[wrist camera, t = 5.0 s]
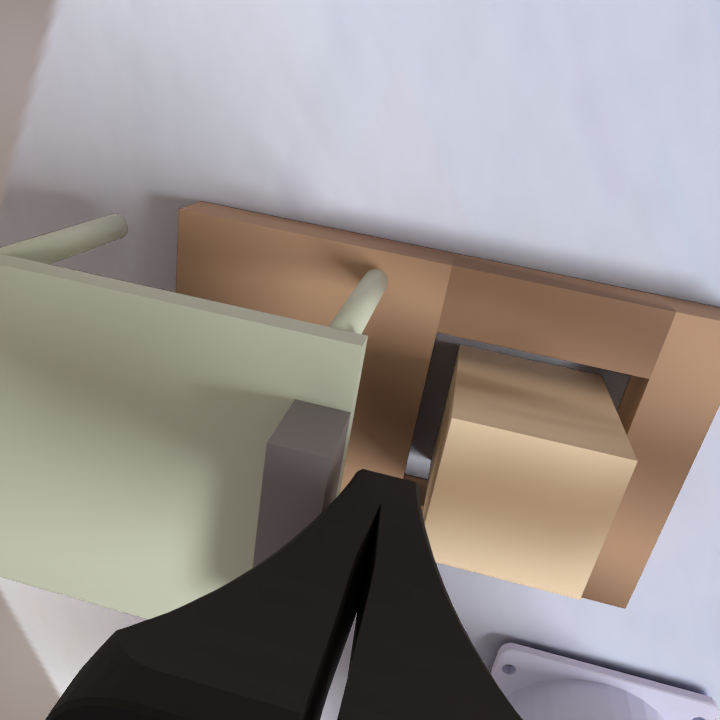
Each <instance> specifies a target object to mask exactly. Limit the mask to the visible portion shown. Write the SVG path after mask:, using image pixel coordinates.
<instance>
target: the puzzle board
mask: <svg viewBox="0 0 720 720" xmlns="http://www.w3.org/2000/svg"><path fill="white" fill-rule="evenodd" d="M372 269H379V270H381V271H383V272H384V273H385V274H386V276H387V278H388V286H387V288H386V290H385V291H384V293H383V295H382V297H381V299H380V301H379V303H378V304H377V306H376V308H375V310H374V312H373V314H372V315H371V317H370V319H369V321H368V323H367V325H366V326H365V328H364V330H363V332H362V334H363V335H367V336H368V339H367V344H366V350H365V355H364V361H363V366H362V372H361V378H360V383H359V389H358V394H357V400H356V405H355V411H354V417H353V422H352V428H351V433H350V439H349V444H348V450H347V456H346V461H345V467H344V472H343V478H342V483H341V489H340V493H341V492H342V491H343V489H344V488H345V487H346V486H347V485H348V483H349V482H350V481H351V479H352V478H353V477H354V475H355V473H356V472H357V471H359V470H361V469H366V470H370V471H374V472H378V473H382V474H386V475H390V476H394V477H398V478H402V479H406V480H410V481H414V482H416V483H417V485H418V486H419V488H420V502H421V509H422V514H423V510H424V504H425V497H426V491H427V484H428V480H424V479H420V478H416V477H412V476H408V475H404V473H405V468H406V464H407V460H408V455H409V451H410V447H411V442H412V438H413V433H414V429H415V425H416V420H417V416H418V412H419V407H420V403H421V399H422V394H423V390H424V386H425V381H426V377H427V373H428V368H429V364H430V360H431V355H432V351H433V346H434V342H435V338H436V333H437V332H438V333H442V334H447V335H451V336H456V337H461V338H465V339H470V340H474V341H479V342H483V343H488V344H492V345H497V346H501V347H506V348H511V349H515V350H520V351H524V352H529V353H533V354H538V355H542V356H547V357H551V358H556V359H561V360H565V361H570V362H574V363H579V364H583V365H588V366H592V367H597V368H601V369H606V370H611V371H615V372H620V373H624V374H629V375H631V377H630V379H629V382H628V384H627V387H626V390H625V392H624V395H623V397H622V400H621V403H620V405H619V408H618V410H617V413H618V416H619V418H620V420H621V423H622V425H623V428H624V430H625V432H626V435H627V437H628V439H629V442H630V444H631V446H632V449H633V451H634V454H635V456H636V458H637V461H638V462H637V464H636V466H635V469H634V471H633V474H632V476H631V478H630V481H629V483H628V486H627V488H626V490H625V493H624V495H623V498H622V500H621V502H620V505H619V507H618V510H617V512H616V515H615V517H614V519H613V522H612V524H611V527H610V529H609V531H608V534H607V536H606V539H605V541H604V543H603V546H602V548H601V551H600V553H599V555H598V558H597V560H596V563H595V565H594V567H593V570H592V572H591V575H590V577H589V579H588V582H587V584H586V587H585V589H584V591H583V594H582V596H581V597H582V598H586V599H590V600H594V601H598V602H601V603H605V604H609V605H613V606H617V607H621V608H624V609H625V608H626V606H627V604H628V602H629V600H630V598H631V595H632V593H633V591H634V589H635V587H636V585H637V583H638V580H639V578H640V576H641V574H642V572H643V570H644V567H645V565H646V563H647V561H648V559H649V557H650V554H651V552H652V550H653V548H654V546H655V544H656V542H657V539H658V537H659V535H660V533H661V531H662V529H663V526H664V524H665V522H666V520H667V518H668V516H669V514H670V511H671V509H672V507H673V505H674V503H675V501H676V498H677V496H678V494H679V492H680V490H681V488H682V485H683V483H684V481H685V479H686V477H687V475H688V473H689V470H690V468H691V466H692V464H693V462H694V460H695V457H696V455H697V453H698V451H699V449H700V447H701V445H702V442H703V440H704V438H705V436H706V434H707V432H708V429H709V427H710V425H711V423H712V421H713V419H714V416H715V414H716V412H717V410H718V408H719V406H720V308H719V307H714V306H710V305H705V304H700V303H695V302H690V301H685V300H680V299H675V298H671V297H666V296H661V295H656V294H651V293H646V292H641V291H636V290H632V289H627V288H622V287H617V286H612V285H607V284H602V283H597V282H593V281H588V280H583V279H578V278H573V277H568V276H563V275H558V274H554V273H549V272H544V271H539V270H534V269H529V268H524V267H519V266H515V265H510V264H505V263H500V262H495V261H490V260H485V259H480V258H476V257H471V256H466V255H461V254H456V253H451V252H446V251H441V250H436V249H432V248H427V247H422V246H417V245H412V244H407V243H402V242H397V241H393V240H388V239H383V238H378V237H373V236H368V235H363V234H358V233H354V232H349V231H344V230H339V229H334V228H329V227H324V226H319V225H315V224H310V223H305V222H300V221H295V220H290V219H285V218H280V217H276V216H271V215H266V214H261V213H256V212H251V211H246V210H241V209H237V208H232V207H227V206H222V205H217V204H212V203H207V202H202V201H200V202H197V203H194V204H191V205H188V206H185V207H183V208H180V209H179V216H178V244H177V272H176V293H179V294H184V295H188V296H193V297H197V298H202V299H206V300H211V301H215V302H219V303H224V304H228V305H233V306H237V307H242V308H246V309H251V310H255V311H260V312H264V313H269V314H273V315H278V316H282V317H287V318H291V319H296V320H300V321H305V322H309V323H313V324H318V325H322V326H327V327H328V326H329V325H330V323H331V322H332V321H333V319H334V318H335V316H336V315H337V313H338V312H339V311H340V309H341V308H342V306H343V305H344V304H345V302H346V301H347V299H348V298H349V297H350V295H351V294H352V292H353V291H354V289H355V288H356V287H357V285H358V284H359V282H360V281H361V280H362V278H363V277H364V275H365V274H366V273H367V272H368V271H369V270H372Z"/></svg>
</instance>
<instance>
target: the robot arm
mask: <svg viewBox="0 0 720 720" xmlns="http://www.w3.org/2000/svg"><path fill="white" fill-rule="evenodd" d="M356 613H357V617H356V624H355V631H354V638H353V645H352V651H351V658H350V665H349V672H348V679H347V683H346V687H345V691H344V695H343V699H342V703H341V707H340V711H339V715H338V719H337V720H716V718H717V717H718V714H719V711H718V708H717V705H716V703H715V701H714V700H713V699H712V698H711V697H709V696H706V695H703V694H699V693H695V692H692V691H688V690H684V689H681V688H677V687H673V686H670V685H666V684H662V683H659V682H655V681H651V680H648V679H644V678H640V677H637V676H633V675H629V674H626V673H622V672H618V671H615V670H611V669H607V668H603V667H600V666H596V665H592V664H589V663H585V662H581V661H578V660H574V659H570V658H567V657H563V656H559V655H556V654H552V653H548V652H545V651H541V650H537V649H534V648H530V647H526V646H523V645H519V644H515V643H506V644H504V645H502V646H501V647H500V648H499V650H498V653H497V656H496V659H495V662H494V664H493V667H492V670H491V673H490V672H489V670H488V669H487V667H486V666H485V664H484V662H483V661H482V659H481V658H480V656H479V654H478V653H477V651H476V650H475V648H474V646H473V644H472V642H471V641H470V639H469V637H468V635H467V633H466V631H465V629H464V628H463V626H462V624H461V622H460V620H459V617H458V615H457V613H456V611H455V609H454V607H453V605H452V603H451V600H450V598H449V596H448V593H447V591H446V589H445V586H444V584H443V581H442V578H441V576H440V573H439V570H438V568H437V565H436V562H435V559H434V556H433V552H432V549H431V546H430V542H429V539H428V536H427V532H426V528H425V524H424V519H423V514H422V509H421V502H420V488H419V486H418V485H417V483H416V482H414V481H410V480H406V479H402V478H398V477H394V476H390V475H386V474H382V473H378V472H374V471H370V470H366V469H361V470H359V471H357V472H356V473H355V475H354V477H353V478H352V479H351V481H350V482H349V483H348V485H347V486H346V487H345V488H344V489H343V491H342V492H341V493H340V494H339V495H338V496H337V497H336V498H335V500H334V501H333V502H332V503H331V504H330V505H329V506H328V507H327V508H326V509H325V510H324V511H323V512H322V513H321V514H320V515H319V516H318V517H317V518H316V519H315V520H314V521H313V522H311V523H310V524H309V525H308V526H307V527H306V528H305V529H303V530H302V531H301V532H300V533H299V534H298V535H296V536H295V537H294V538H293V539H292V540H291V541H289V542H288V543H287V544H286V545H284V546H283V547H282V548H280V549H279V550H278V551H276V552H275V553H274V554H272V555H271V556H270V557H268V558H267V559H265V560H264V561H262V562H261V563H260V564H258V565H257V566H255V567H254V568H252V569H250V570H249V571H247V572H245V573H244V574H242V575H241V576H239V577H237V578H236V579H234V580H232V581H231V582H229V583H227V584H225V585H224V586H222V587H220V588H218V589H216V590H214V591H212V592H210V593H208V594H206V595H204V596H202V597H200V598H198V599H196V600H194V601H192V602H190V603H188V604H186V605H183V606H181V607H179V608H177V609H175V610H172V611H170V612H168V613H165V614H162V615H160V616H157V617H154V618H151V619H149V620H146V621H143V622H140V623H138V624H135V625H132V626H129V627H126V628H123V629H120V630H117V631H115V633H114V634H113V635H112V636H111V637H110V638H109V639H108V640H107V641H106V642H105V643H104V644H103V645H102V646H101V647H100V648H99V649H98V651H97V652H96V653H95V654H94V655H93V656H92V657H91V658H90V660H89V661H88V662H87V663H86V664H85V665H84V666H83V667H82V669H81V670H80V671H79V672H78V674H77V675H76V676H75V678H74V679H73V680H72V682H71V683H70V685H69V686H68V687H67V689H66V690H65V692H64V693H63V695H62V696H61V697H60V699H59V700H58V702H57V703H56V705H55V706H54V707H53V709H52V710H51V712H50V714H49V715H48V717H47V718H46V720H320V718H321V714H322V710H323V707H324V704H325V701H326V698H327V694H328V691H329V688H330V685H331V683H332V680H333V677H334V674H335V671H336V669H337V666H338V663H339V660H340V658H341V655H342V652H343V649H344V646H345V644H346V641H347V638H348V635H349V633H350V630H351V627H352V624H353V621H354V619H355V616H356ZM506 664H509V665H512V666H506Z"/></svg>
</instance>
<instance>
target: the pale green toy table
mask: <svg viewBox="0 0 720 720" xmlns="http://www.w3.org/2000/svg"><path fill="white" fill-rule="evenodd" d="M127 230H128V226H127V223H126V221H125V219H124V218H123V217H122V216H120V215H118V214H111V215H108V216H104V217H101V218H98V219H94V220H91V221H87V222H84V223H81V224H77V225H74V226H71V227H67V228H64V229H61V230H57V231H54V232H50V233H47V234H44V235H40V236H37V237H34V238H30V239H27V240H24V241H20V242H17V243H13V244H10V245H7V246H3V247H0V577H2V578H6V579H9V580H13V581H16V582H20V583H23V584H27V585H30V586H34V587H37V588H41V589H44V590H48V591H51V592H55V593H58V594H62V595H65V596H69V597H72V598H75V599H79V600H82V601H86V602H89V603H93V604H96V605H100V606H103V607H107V608H110V609H114V610H117V611H121V612H124V613H128V614H131V615H135V616H138V617H142V618H145V619H151V618H154V617H157V616H160V615H162V614H165V613H168V612H170V611H172V610H175V609H177V608H179V607H181V606H183V605H186V604H188V603H190V602H192V601H194V600H196V599H198V598H200V597H202V596H204V595H206V594H208V593H210V592H212V591H214V590H216V589H218V588H220V587H222V586H224V585H225V584H227V583H229V582H231V581H232V580H234V579H236V578H237V577H239V576H241V575H242V574H244V573H245V572H247V571H249V570H250V569H252V568H254V567H255V566H257V565H258V564H260V563H261V562H262V561H264V560H265V559H267V558H268V557H270V556H271V555H272V554H274V553H275V552H276V551H278V550H279V549H280V548H282V547H283V546H284V545H286V544H287V543H288V542H289V541H291V540H292V539H293V538H294V537H295V536H296V535H298V534H299V533H300V532H301V531H302V530H303V529H305V528H306V527H307V526H308V525H309V524H310V523H311V522H313V521H314V520H315V519H316V518H317V517H318V516H319V515H320V514H321V513H322V512H323V511H324V510H325V509H326V508H327V507H328V506H329V505H330V504H331V503H332V502H333V501H334V500H335V498H336V497H337V496H338V495H339V494H340V489H341V483H342V478H343V472H344V467H345V461H346V456H347V450H348V444H349V439H350V433H351V428H352V422H353V417H354V411H355V405H356V400H357V394H358V389H359V383H360V378H361V372H362V366H363V361H364V355H365V350H366V344H367V339H368V336H367V335H363V334H362V332H363V330H364V328H365V326H366V325H367V323H368V321H369V319H370V317H371V315H372V314H373V312H374V310H375V308H376V306H377V304H378V303H379V301H380V299H381V297H382V295H383V293H384V291H385V290H386V288H387V286H388V278H387V276H386V274H385V273H384V272H383V271H381V270H379V269H372V270H369V271H368V272H367V273H366V274H365V275H364V277H363V278H362V280H361V281H360V282H359V284H358V285H357V287H356V288H355V289H354V291H353V292H352V294H351V295H350V297H349V298H348V299H347V301H346V302H345V304H344V305H343V306H342V308H341V309H340V311H339V312H338V313H337V315H336V316H335V318H334V319H333V321H332V322H331V323H330V325H329V326H328V327H327V326H322V325H318V324H313V323H309V322H305V321H300V320H296V319H291V318H287V317H282V316H278V315H273V314H269V313H264V312H260V311H255V310H251V309H246V308H242V307H237V306H233V305H228V304H224V303H219V302H215V301H211V300H206V299H202V298H197V297H193V296H188V295H184V294H179V293H175V292H170V291H166V290H161V289H157V288H152V287H148V286H143V285H139V284H134V283H130V282H125V281H121V280H117V279H112V278H108V277H103V276H99V275H94V274H90V273H85V272H81V271H76V270H72V269H67V268H63V267H58V266H54V265H49V264H51V263H54V262H57V261H60V260H62V259H65V258H68V257H70V256H73V255H76V254H78V253H81V252H84V251H87V250H89V249H92V248H95V247H97V246H100V245H103V244H106V243H108V242H111V241H114V240H116V239H119V238H122V237H124V236H125V235H126V233H127Z"/></svg>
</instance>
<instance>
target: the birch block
mask: <svg viewBox="0 0 720 720" xmlns="http://www.w3.org/2000/svg"><path fill="white" fill-rule="evenodd" d="M637 462H638V461H637V458H636V456H635V454H634V451H633V449H632V446H631V444H630V442H629V439H628V437H627V435H626V432H625V430H624V428H623V425H622V423H621V420H620V418H619V416H618V413H617V411H616V409H615V406H614V404H613V402H612V399H611V397H610V394H609V392H608V390H607V387H606V385H605V383H604V380H603V378H602V376H601V375H597V374H593V373H588V372H583V371H579V370H574V369H570V368H565V367H561V366H556V365H552V364H547V363H543V362H538V361H533V360H529V359H524V358H520V357H515V356H511V355H506V354H502V353H497V352H493V351H488V350H483V349H479V348H474V347H470V346H465V345H461V344H460V346H459V350H458V354H457V358H456V362H455V366H454V370H453V374H452V378H451V382H450V386H449V391H448V395H447V399H446V403H445V407H444V411H443V415H442V419H441V423H440V427H439V431H438V435H437V439H436V443H435V447H434V451H433V455H432V459H431V465H430V471H429V478H428V484H427V491H426V497H425V504H424V510H423V519H424V524H425V528H426V532H427V536H428V539H429V542H430V546H431V549H432V552H433V556H434V559H435V562H437V563H441V564H444V565H448V566H452V567H456V568H460V569H464V570H467V571H471V572H475V573H479V574H483V575H487V576H491V577H494V578H498V579H502V580H506V581H510V582H514V583H517V584H521V585H525V586H529V587H533V588H537V589H541V590H544V591H548V592H552V593H556V594H560V595H564V596H567V597H571V598H575V599H579V600H580V599H581V596H582V594H583V591H584V589H585V587H586V584H587V582H588V579H589V577H590V575H591V572H592V570H593V567H594V565H595V563H596V560H597V558H598V555H599V553H600V551H601V548H602V546H603V543H604V541H605V539H606V536H607V534H608V531H609V529H610V527H611V524H612V522H613V519H614V517H615V515H616V512H617V510H618V507H619V505H620V502H621V500H622V498H623V495H624V493H625V490H626V488H627V486H628V483H629V481H630V478H631V476H632V474H633V471H634V469H635V466H636V464H637Z"/></svg>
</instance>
